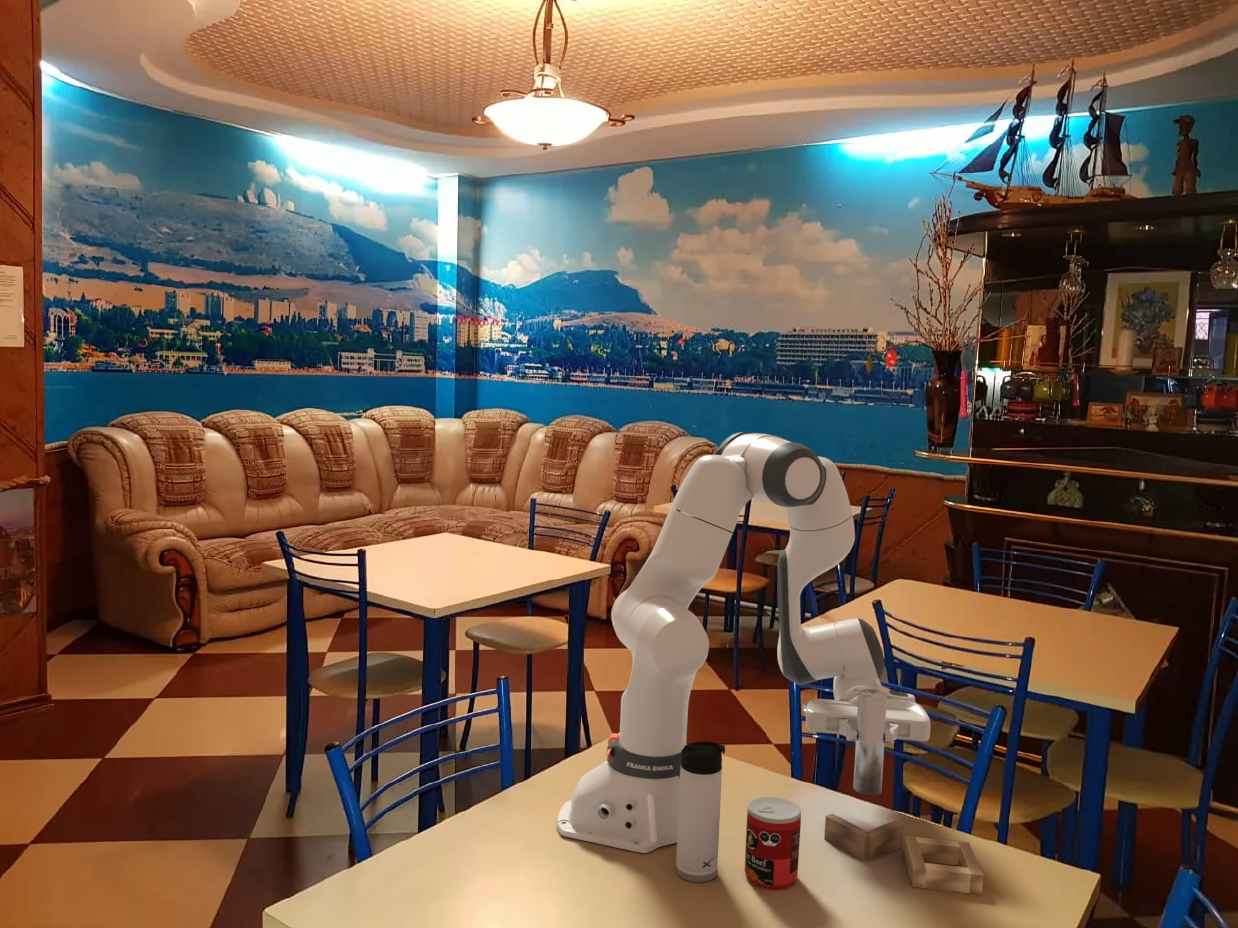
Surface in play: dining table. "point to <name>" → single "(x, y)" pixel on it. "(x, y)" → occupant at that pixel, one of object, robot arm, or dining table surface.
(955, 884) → the oak collar
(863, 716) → the steel axle
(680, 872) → the travel mug
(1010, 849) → the dining table surface
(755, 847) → the canned food
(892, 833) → the walnut V-block
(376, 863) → the dining table surface
